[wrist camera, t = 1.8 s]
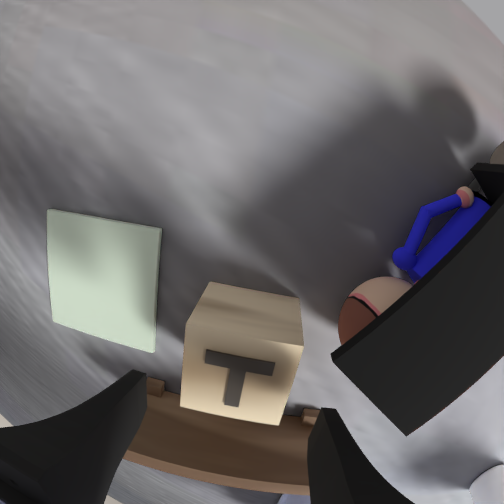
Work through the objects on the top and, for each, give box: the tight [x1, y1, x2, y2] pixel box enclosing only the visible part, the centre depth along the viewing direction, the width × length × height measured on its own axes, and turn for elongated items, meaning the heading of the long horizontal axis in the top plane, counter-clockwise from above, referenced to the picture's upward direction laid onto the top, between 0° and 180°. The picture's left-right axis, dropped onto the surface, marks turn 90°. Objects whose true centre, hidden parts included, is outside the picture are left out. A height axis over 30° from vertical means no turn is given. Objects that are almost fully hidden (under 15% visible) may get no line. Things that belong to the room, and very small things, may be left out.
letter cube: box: [180, 281, 304, 426], centre depth 16 cm, size 5×5×5 cm
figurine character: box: [331, 141, 504, 436], centre depth 13 cm, size 7×8×15 cm
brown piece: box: [123, 377, 320, 496], centre depth 18 cm, size 3×12×6 cm, turn 80°
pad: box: [47, 209, 162, 353], centre depth 18 cm, size 8×8×1 cm
